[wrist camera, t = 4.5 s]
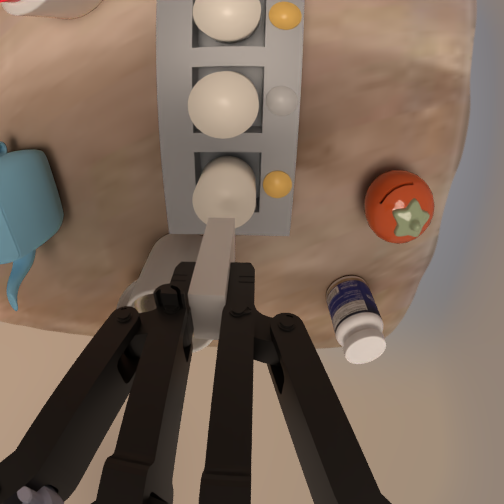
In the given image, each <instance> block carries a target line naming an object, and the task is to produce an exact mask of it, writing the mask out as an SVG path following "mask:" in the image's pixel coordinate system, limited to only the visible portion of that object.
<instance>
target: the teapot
mask: <svg viewBox="0 0 504 504" xmlns="http://www.w3.org/2000/svg"><path fill="white" fill-rule="evenodd" d="M63 217H64V213H63V208H62V204H61V201H60V197H59V194H58V191H57V187H56V184H55V181H54V178H53V174H52V171H51V168H50V165H49V162H48V160H47V157H46V155H45V153H44V152H43V151H41V150H36V149H29V150H19V151H13V152H9V153H7V147H6V145H5V144H4V143H3V142H1V141H0V264H5V263H10V262H13V267H12V271H11V274H10V277H9V280H8V284H7V297H8V300H9V302H10V304H11V306H12V308H13V309H14V310H15V311H17V310H18V304H17V294H18V289H19V286H20V284H21V282H22V281H23V279H24V277H25V276H26V274H27V273H28V271H29V270H30V268H31V266H32V264H33V262H34V258H35V252H36V248H38V247H39V246H41V245H42V244H43V243H45V242H46V241H47V240H48V239H50V238H51V237H52V236H53V235H54V234H55V233H56V232H57V231H58V230H59V228H60V226H61V224H62V221H63Z"/></svg>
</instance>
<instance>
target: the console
mask: <svg viewBox="0 0 504 504" xmlns="http://www.w3.org/2000/svg"><path fill="white" fill-rule="evenodd" d="M259 1H260V4H261V15H260V22H259V25H258V28H257V29H256V31H255V32H254V33H253V34H252V35H251V36H250V37H249V38H247V39H246V40H244V41H241V42H238V43H222V42H218V41H216V40H214V39H212V38H211V37H209V36H208V35H207V34H205V33H204V32H202V31H201V30H200V29H199V28H198V26H197V25H196V23H195V21H194V18H193V6H194V3H195V0H157V11H156V72H157V101H158V120H159V136H160V149H161V162H162V173H163V183H164V193H165V202H166V211H167V219H168V227H169V234H204V232H205V229H206V225H207V224H205V223H204V222H202V221H201V220H200V219H199V217H198V216H197V214H196V213H195V211H194V208H193V203H192V198H193V193H194V190H195V188H196V185H197V183H198V181H199V178H200V176H201V174H202V172H203V170H204V168H205V167H206V165H207V164H208V163H209V162H211V161H212V160H214V159H216V158H218V157H222V156H233V157H237V158H240V159H242V160H243V161H245V162H246V163H247V164H248V165H249V166H250V167H251V169H252V170H253V172H254V175H255V181H256V207H255V210H254V213H253V215H252V216H251V218H250V219H249V220H248V221H247V222H246V223H245V224H243V225H242V226H240V227H237V228H235V235H265V236H289V235H290V225H291V214H292V203H293V192H294V180H295V168H296V155H297V141H298V127H299V112H300V95H301V77H302V56H303V32H304V0H259ZM221 71H234V72H238V73H241V74H243V75H245V76H246V77H247V78H249V79H250V80H251V81H252V83H253V84H254V86H255V88H256V90H257V94H258V100H259V110H258V114H257V117H256V119H255V121H254V123H253V124H252V125H251V126H250V127H249V128H248V129H247V130H246V131H245V132H243V133H242V134H240V135H238V136H235V137H232V138H226V139H220V138H214V137H210V136H208V135H206V134H204V133H202V132H201V131H200V130H199V129H198V128H197V127H196V126H195V125H194V124H193V122H192V120H191V118H190V116H189V112H188V99H189V95H190V93H191V90H192V89H193V87H194V86H195V84H196V83H197V82H198V81H199V80H201V79H202V78H203V77H205V76H207V75H209V74H212V73H215V72H221Z"/></svg>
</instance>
